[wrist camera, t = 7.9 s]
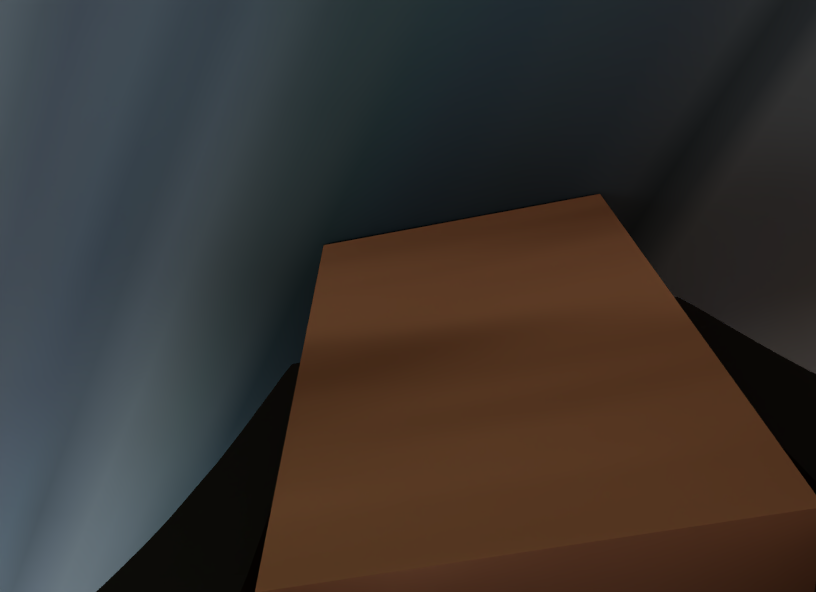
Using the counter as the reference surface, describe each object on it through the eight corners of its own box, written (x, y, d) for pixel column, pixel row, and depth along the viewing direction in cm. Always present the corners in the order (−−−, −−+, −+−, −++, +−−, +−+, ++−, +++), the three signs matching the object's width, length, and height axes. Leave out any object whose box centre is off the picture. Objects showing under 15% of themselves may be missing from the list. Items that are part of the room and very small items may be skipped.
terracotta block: (615, 415, 12) (789, 815, 7) (380, 453, 12) (372, 863, 7) (599, 193, 10) (823, 506, 5) (323, 245, 10) (255, 592, 5)
